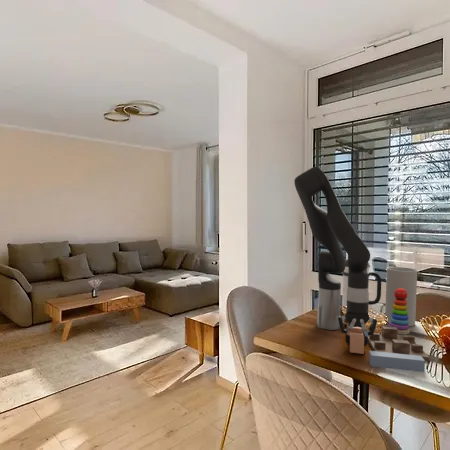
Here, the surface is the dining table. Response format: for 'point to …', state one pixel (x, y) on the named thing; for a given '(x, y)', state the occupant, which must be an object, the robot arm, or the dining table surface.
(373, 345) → the jig
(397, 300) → the stacking toy
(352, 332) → the pink u-shaped block
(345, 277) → the coffee press
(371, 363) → the blue-grey rectangular bar
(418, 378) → the dining table surface
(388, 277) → the cylinder vase
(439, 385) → the dining table surface
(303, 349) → the dining table surface
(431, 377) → the dining table surface
